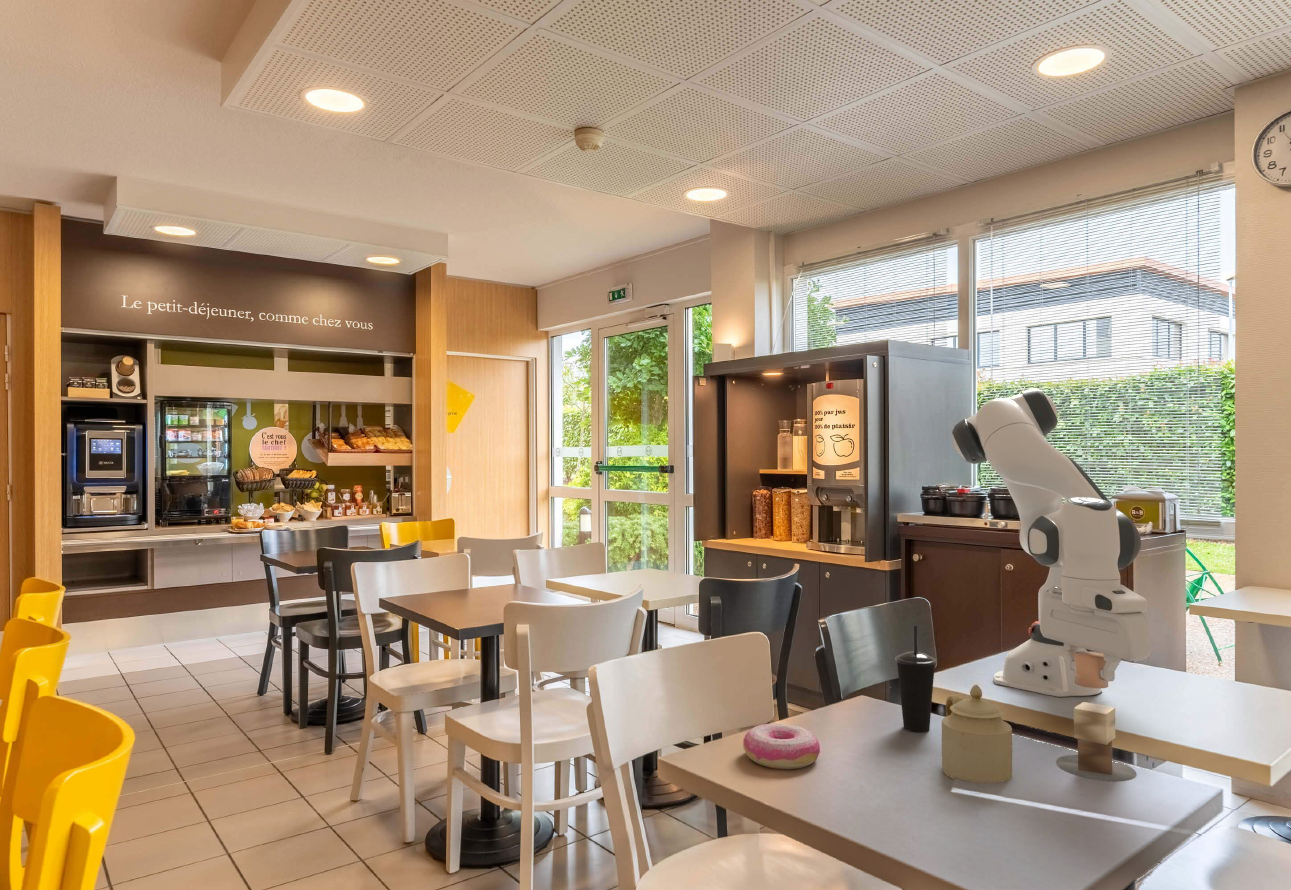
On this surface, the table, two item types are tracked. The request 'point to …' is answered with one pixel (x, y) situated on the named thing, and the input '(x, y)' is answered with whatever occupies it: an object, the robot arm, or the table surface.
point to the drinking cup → (916, 687)
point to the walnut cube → (1095, 757)
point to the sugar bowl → (976, 740)
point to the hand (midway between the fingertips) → (1091, 675)
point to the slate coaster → (1118, 772)
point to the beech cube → (1094, 723)
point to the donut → (781, 746)
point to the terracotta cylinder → (1089, 669)
